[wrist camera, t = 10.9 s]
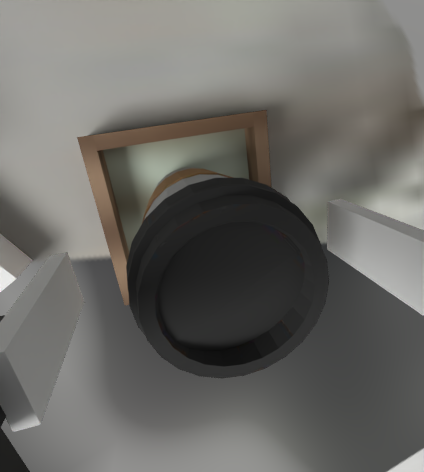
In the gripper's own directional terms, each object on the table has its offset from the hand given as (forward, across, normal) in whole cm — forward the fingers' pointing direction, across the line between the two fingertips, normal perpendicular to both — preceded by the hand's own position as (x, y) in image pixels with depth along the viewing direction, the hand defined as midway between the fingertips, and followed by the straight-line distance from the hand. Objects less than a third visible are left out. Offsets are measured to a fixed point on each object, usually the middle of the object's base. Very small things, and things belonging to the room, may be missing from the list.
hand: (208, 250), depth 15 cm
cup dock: (+11, 0, 0) cm, 11 cm away
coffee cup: (+11, 0, 0) cm, 11 cm away
